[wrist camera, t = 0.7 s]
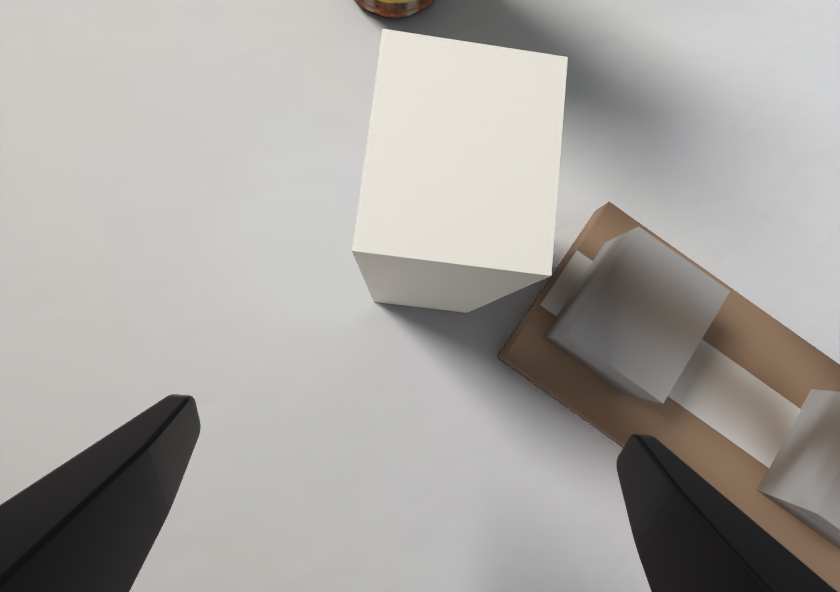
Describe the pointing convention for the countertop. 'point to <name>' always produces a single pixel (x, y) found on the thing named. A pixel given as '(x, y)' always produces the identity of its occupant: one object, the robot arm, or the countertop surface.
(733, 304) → the rail board
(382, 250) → the block
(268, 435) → the countertop surface
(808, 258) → the countertop surface
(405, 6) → the sauce bottle
